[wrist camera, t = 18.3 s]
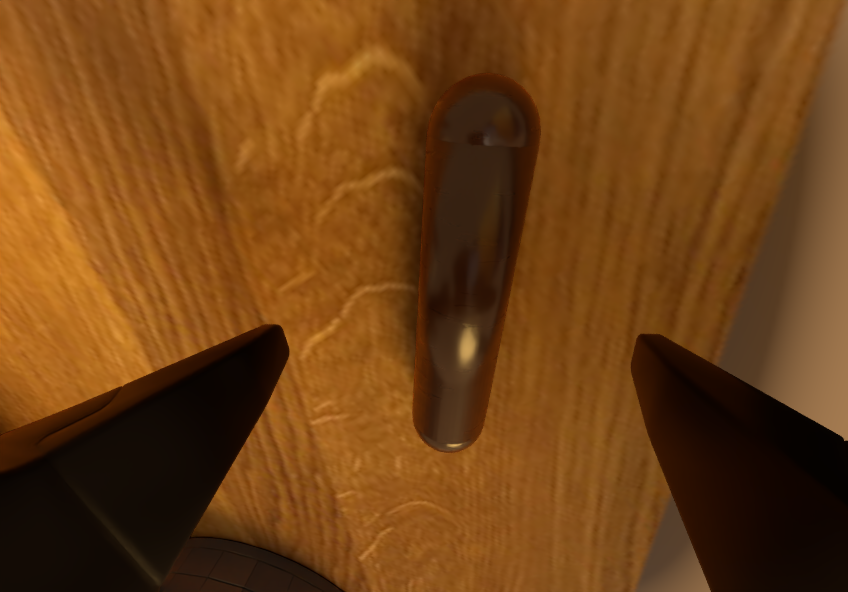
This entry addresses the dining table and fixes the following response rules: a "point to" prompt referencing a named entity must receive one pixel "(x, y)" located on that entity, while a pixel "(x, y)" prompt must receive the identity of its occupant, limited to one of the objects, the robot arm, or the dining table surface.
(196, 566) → the round shallow dish
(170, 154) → the dining table surface
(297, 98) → the dining table surface
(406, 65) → the dining table surface
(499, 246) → the stick
